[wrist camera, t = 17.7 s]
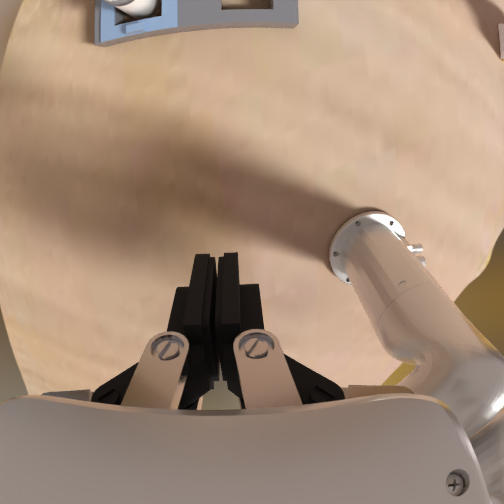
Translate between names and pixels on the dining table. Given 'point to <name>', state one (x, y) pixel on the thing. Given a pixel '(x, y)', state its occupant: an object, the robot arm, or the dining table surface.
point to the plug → (138, 7)
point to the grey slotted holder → (188, 19)
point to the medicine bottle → (501, 40)
